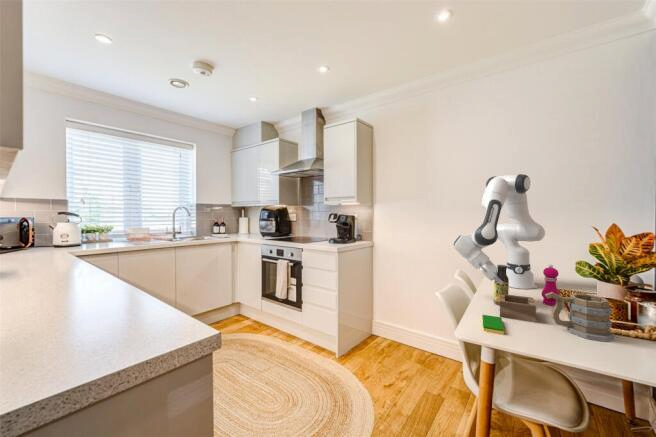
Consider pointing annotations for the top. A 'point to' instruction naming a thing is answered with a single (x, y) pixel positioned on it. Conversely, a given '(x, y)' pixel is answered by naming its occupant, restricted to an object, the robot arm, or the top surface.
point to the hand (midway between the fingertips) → (502, 281)
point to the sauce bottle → (505, 286)
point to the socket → (517, 308)
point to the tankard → (585, 316)
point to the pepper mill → (550, 285)
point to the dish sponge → (492, 324)
